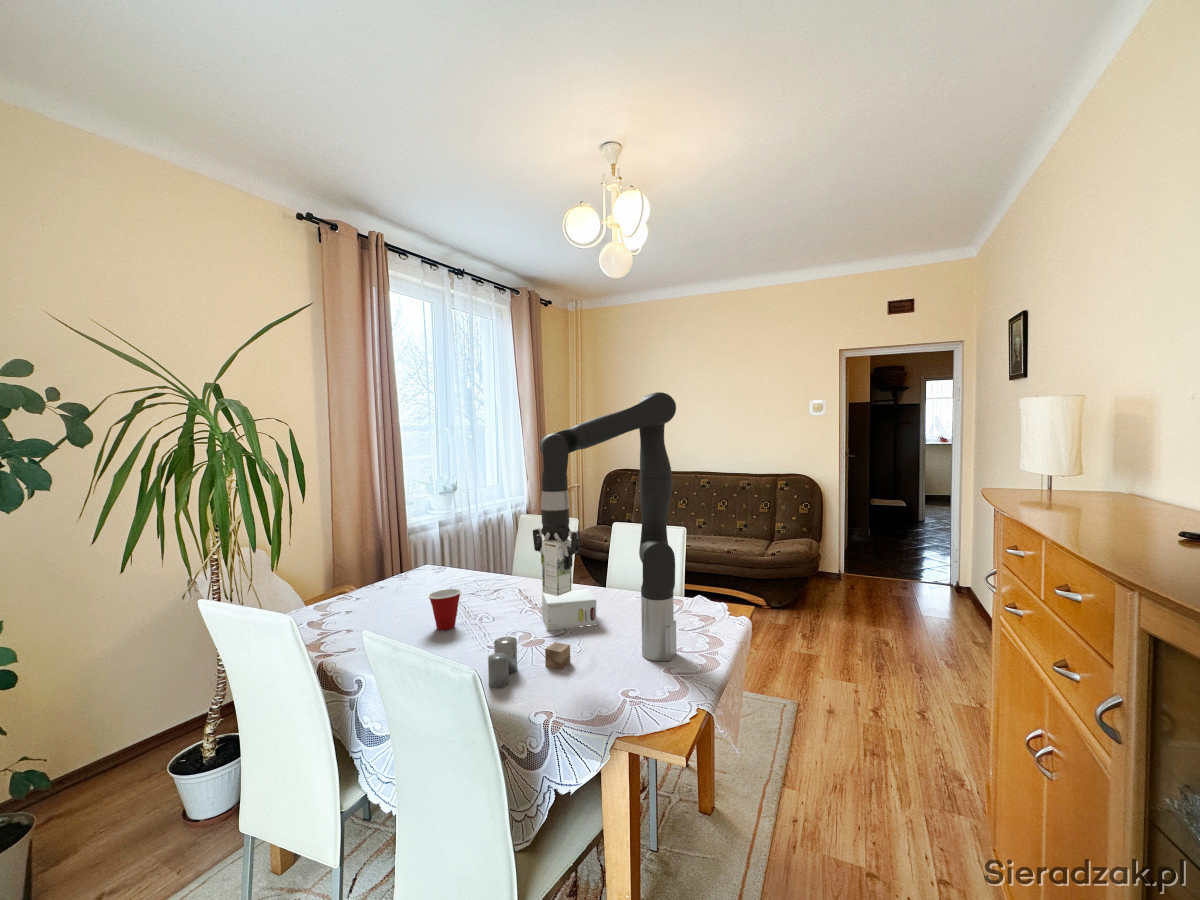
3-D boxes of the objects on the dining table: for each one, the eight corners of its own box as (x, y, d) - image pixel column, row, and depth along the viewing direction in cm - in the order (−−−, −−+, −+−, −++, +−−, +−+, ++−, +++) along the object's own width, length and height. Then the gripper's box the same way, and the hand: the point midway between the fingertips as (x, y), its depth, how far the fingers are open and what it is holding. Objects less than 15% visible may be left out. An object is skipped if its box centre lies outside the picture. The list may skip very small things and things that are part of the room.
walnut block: (570, 662, 141) (570, 645, 141) (561, 670, 137) (560, 652, 137) (555, 659, 143) (554, 642, 143) (545, 666, 139) (545, 648, 139)
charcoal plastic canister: (512, 681, 131) (511, 654, 130) (500, 690, 126) (499, 662, 126) (497, 677, 133) (496, 651, 133) (484, 686, 128) (484, 659, 128)
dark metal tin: (521, 667, 138) (521, 638, 138) (508, 677, 133) (507, 647, 133) (504, 663, 141) (503, 635, 141) (490, 672, 136) (489, 643, 136)
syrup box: (556, 587, 142) (555, 536, 141) (572, 591, 138) (571, 538, 138) (542, 592, 137) (540, 540, 137) (557, 596, 134) (556, 542, 133)
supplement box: (547, 631, 164) (546, 603, 164) (542, 618, 177) (541, 591, 177) (597, 626, 168) (597, 598, 168) (588, 613, 181) (588, 587, 181)
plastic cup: (448, 619, 177) (447, 585, 176) (468, 625, 170) (468, 590, 170) (421, 629, 168) (420, 593, 167) (442, 636, 161) (441, 599, 161)
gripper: (585, 506, 137) (586, 567, 138) (540, 504, 144) (542, 562, 144) (571, 510, 130) (572, 574, 131) (525, 507, 137) (527, 568, 137)
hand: (556, 567), depth 138 cm, fingers closed on syrup box, 6 cm apart
